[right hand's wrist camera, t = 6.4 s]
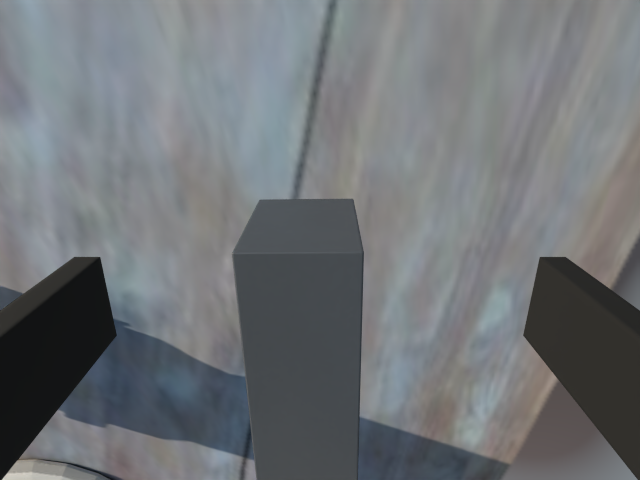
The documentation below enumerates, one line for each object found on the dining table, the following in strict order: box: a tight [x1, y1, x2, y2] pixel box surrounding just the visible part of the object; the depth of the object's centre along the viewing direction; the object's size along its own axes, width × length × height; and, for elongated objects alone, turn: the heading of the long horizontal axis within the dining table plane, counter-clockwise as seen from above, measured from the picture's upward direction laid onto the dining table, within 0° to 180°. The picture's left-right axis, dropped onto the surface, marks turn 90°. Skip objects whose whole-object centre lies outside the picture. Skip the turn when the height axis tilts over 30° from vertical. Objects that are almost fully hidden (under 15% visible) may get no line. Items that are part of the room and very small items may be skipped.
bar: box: [232, 199, 364, 480], centre depth 27 cm, size 26×6×8 cm, turn 1°
